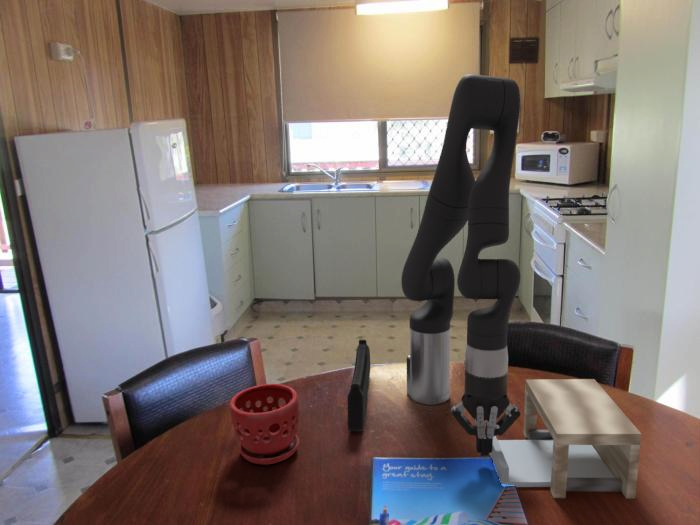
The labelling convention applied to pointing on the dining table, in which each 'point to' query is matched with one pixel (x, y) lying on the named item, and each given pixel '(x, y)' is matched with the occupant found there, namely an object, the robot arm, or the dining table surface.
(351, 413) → the magazine
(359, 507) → the dining table surface
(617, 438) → the small table
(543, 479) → the slab
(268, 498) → the dining table surface
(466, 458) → the dining table surface
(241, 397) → the plant pot
